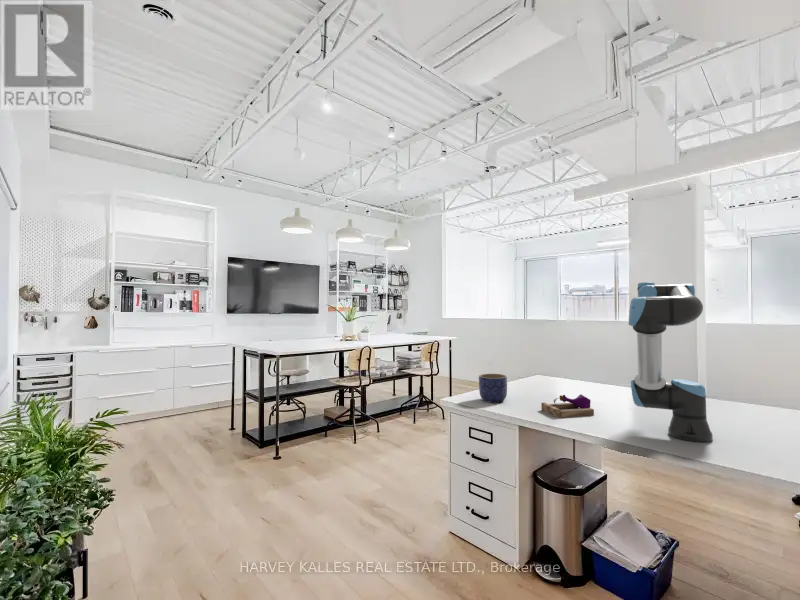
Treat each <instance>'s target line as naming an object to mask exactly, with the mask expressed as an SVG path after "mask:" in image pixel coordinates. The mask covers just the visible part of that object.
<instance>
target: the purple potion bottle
mask: <svg viewBox="0 0 800 600" xmlns="http://www.w3.org/2000/svg"><path fill="white" fill-rule="evenodd" d="M558 399H559V400H560V401H561V402H562V403H572V404H574V405H576V406H577V407H579V408H580V409H585V408H591V399H590V398H588V397H587V396H585V395H583V394H579V395H578V396H576V397H575V398H574V399H573V398H569V397H568V396H566V395H565V394H562V395H559V397H556V398H555V399H554V400H553V404H556V405H557V404H558V403H556V401H557V400H558Z"/></svg>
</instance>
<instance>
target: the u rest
mask: <svg viewBox="0 0 800 600" xmlns="http://www.w3.org/2000/svg"><path fill="white" fill-rule="evenodd" d="M556 404H557V405H556ZM541 411H543V412H544V413H547V414H548V415H550V414H551V416H552V417H554V416H555V417H554V418H556V417H557V419H558V418H559V419H561V418H572V417H573V418H575V417H589V416H595V409H593V408H592V407H590V408H585V409H581V408H579V407H577V406H576V405H574V404H572V403H570V402H561V403H546V402H541Z"/></svg>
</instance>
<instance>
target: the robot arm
mask: <svg viewBox="0 0 800 600" xmlns="http://www.w3.org/2000/svg"><path fill="white" fill-rule="evenodd" d="M655 283H656V282H653V281H643V282H642V281H641V282H638V284H637V289H636V290H637V297H633V298H632V299H631V301H630V303H629V309H628V310H629V311H628V312H629V313H628V326H630V327H632V329H633V331H634V332H635V333H636V340H637V341H636V342H637V372H638V373H637V375H635V377H634V379H631V381H630V387H631V388H630V389H631V395H632V396H631V397H632V401H633V404H634V405H635V406H637V407H641V408H646V409H647V408H649V409H650V408H651V409H660V410H667V411H668V410H669V411H671V410H672V415H671V420H670V423H669V426H668V429H667V431H668V435H669V436H670V437H673V438H675V439H679V440H683V441H688V442H695V443H707V442H712V441H713V432H712V431H711V428H710V425H709V423H708V420H707V419H708V418H707V402H706V401H707V394H706V392H707V391H706V388H705V386H704V385H703V384H701V383H699V382H695V381H692V380H686V379H680V378H678V379H677V378H672V379H671V380H670V382H669V381H668V382H667V381H666V378H665V377H664V376H663V375H662V374H663V372H662V369H663V365H662V364H663V358H662V357H663V352H662V351H663V350H662V348H663V346H662V345H663V341H662V340H663V338H662V335H663V333H664V332H666V330H667V327H672V326H673V327H675V326H677V327H679V326H683V325H688V324H690V323H692V322H694V321H696V320H697V319H698V318H699V317H700V316H701V315H702V313H703V311H704V305H703V303H702V301H701V299H700V298H698V297H697V296H696V295H695V293H696V292H695V291H696V289H695V286H694V284H692V283H682V284H681V283H680V284H678V283H677V284H655Z"/></svg>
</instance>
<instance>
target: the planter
mask: <svg viewBox="0 0 800 600" xmlns="http://www.w3.org/2000/svg"><path fill="white" fill-rule="evenodd" d="M478 389H479V396H480V398H481V399H482V400H483V401H484V402H487V403H494V404H495V403H502V402H504V401H505V400H506V398H507V396H508V376H507V375H506V374H502V373H482V374H479V375H478Z"/></svg>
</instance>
